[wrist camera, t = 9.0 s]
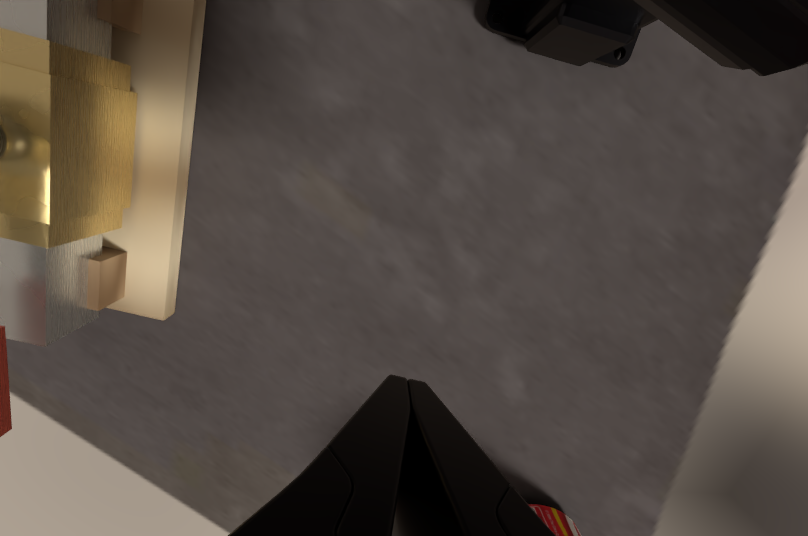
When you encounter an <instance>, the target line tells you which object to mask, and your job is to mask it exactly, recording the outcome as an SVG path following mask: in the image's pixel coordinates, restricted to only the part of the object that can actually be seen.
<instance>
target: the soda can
mask: <svg viewBox="0 0 808 536" xmlns="http://www.w3.org/2000/svg"><path fill="white" fill-rule="evenodd" d="M528 505H529V506H530V507H531V508H532V509H533V511H534V512H535V513H536V514H537V515H538V516H539V517H540V519H541V520H542V521H543V522H544V523H545V524H546V525H547V526H548V527H549V528H550V530H551V531H552V532H553V533H554V534H555V535H556V536H582V535H581V533H580V532H579V530H578V528H577V527H576V525H575V524H574V522H573V521H572V520H571V519H570V518H569V517H568V516H567V515H565V514H564V513H562V512H561V511H559V510H557V509H554V508H552V507H548V506H544V505H537V504H528Z"/></svg>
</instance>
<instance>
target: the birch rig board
mask: <svg viewBox="0 0 808 536" xmlns="http://www.w3.org/2000/svg"><path fill="white" fill-rule="evenodd" d="M205 8H206V0H98V6H97V18H98V19H101V20H103V21H105V22H108V23H110V24H112V36H111V58H110V60H114V61H117V62H120V63H124V64H127V65H130V66H131V79H130V91H131V92H135V93H138V95H137V111H136V127H135V142H134V158H133V174H132V190H131V206H130V208H125V209H123V216H122V228H120V229H116V230H113V231H109V232H105V233H103V237H102V255H99V256H96V257H93V258H90V259H89V262H88V290H87V309H91V310H96V311H99V310H101V309H103V308H105V307H106V308H110V309H115V310H119V311H124V312H128V313H132V314H137V315H141V316H146V317H150V318H155V319H159V320H163V321H164V320H165V319H167V318H168V317H169V316H171V315H172V314H174V313H175V303H176V293H177V283H178V273H179V263H180V254H181V244H182V234H183V224H184V214H185V205H186V195H187V185H188V175H189V165H190V156H191V146H192V136H193V126H194V116H195V106H196V97H197V87H198V77H199V67H200V57H201V48H202V38H203V28H204V18H205Z"/></svg>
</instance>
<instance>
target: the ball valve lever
mask: <svg viewBox="0 0 808 536" xmlns="http://www.w3.org/2000/svg"><path fill="white" fill-rule="evenodd" d="M10 410H11V409H10V394H9V379H8V364H7V349H6V333H5V326H1V325H0V437H1V436H2V435H4V434H5V433H6V432H8V431H9V430H11V429H12V426H11V411H10Z"/></svg>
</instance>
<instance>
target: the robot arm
mask: <svg viewBox="0 0 808 536" xmlns="http://www.w3.org/2000/svg"><path fill="white" fill-rule="evenodd" d="M495 13H498V14H500V15H501V17H502V22H501V23H500V24H496V23H494V22H493V20H492V15H493V14H495ZM658 19H659V20H660V21H662V22H663V23H664V24H666V25H667V26H668V27H670V28H671V29H672V30H674V31H675V32H676V33H678V34H679V35H680V36H682V37H683V38H684V39H686V40H687V41H689V42H690V43H691V44H693V45H694V46H695V47H697V48H698V49H699V50H701V51H702V52H703V53H705V54H706V55H707V56H709V57H710V58H711V59H713V60H714V61H715V62H717V63H718V64H719V65H721V66H724V67H730V68H736V69H742V70H745V69H751V70H753V71H754V72H755V73H756V74H758V75H759V76H766V75H770V74H774V73H777V72H781V71H785V70H789V69H792V68H796V67H799V66H803V65H807V64H808V0H489V4H488V8H487V11H486V15H485V26H486V28H487V29H488V30H489V31H491V32H492V33H496V34H499V35H502V36H506V37H509V38H513V39H516V40H519V41H523V42H525V47H526V49H527V51H529V52H532V53H535V54H539V55H542V56H546V57H549V58H553V59H556V60H559V61H563V62H566V63H570V64H573V65H577V66H582V65H584V64H586V63H588V62H590V61H591V62H594V63H598V64H601V65H605V66H608V67H614V68H615V67H618V66H621V65H623V64H625V63H626V62H627V61H628V60H629V58H630V56H631V54H632V51H633V49H634V46H635V43H636V41H637V38H638V35H639V33H640V30H641V28H642V27H644V26H646V25H648V24H650V23H652V22H654V21H656V20H658ZM616 49H618V50H620V52H621V57H620V59H619V60H617V59H616V58H615V57H614V51H615V50H616ZM228 536H556V535H555V534H554V533H553V532H552V531H551V530H550V528H549V527H548V526H547V525H546V524H545V523H544V522H543V521H542V520H541V519H540V517H539V516H538V515H537V514H536V513H535V512H534V511H533V509H532V508H531V507H530V506H529V505H528V504H527V503H526V501H525V500H524V499H523V498H522V497H521V495H520V494H519V493H518V492H517V491H516V490H515V488H514V487H513V486H510V483H509V481H508V480H507V479H506V478H505V477H504V475H503V474H502V473H501V472H500V471H499V469H498V468H497V467H496V466H495V465H494V463H493V462H492V461H491V460H490V459H489V457H488V456H487V455H486V454H485V453H484V452H483V450H482V449H481V448H480V447H479V446H478V444H477V443H476V442H475V441H474V440H473V438H472V437H471V436H470V435H469V434H468V432H467V431H466V430H465V429H464V428H463V426H462V425H461V424H460V423H459V422H458V420H457V419H456V418H455V417H454V416H453V415H452V413H451V412H450V411H449V410H448V409H447V407H446V406H445V405H444V404H443V403H442V401H441V400H440V399H439V398H438V397H437V395H436V394H435V393H434V392H433V391H432V389H431V388H430V387H429V386H428V385H427V384H426V383H425V382H422V381H417V380H413V379H409V380H408V381H407V379H406V378H404V377H400V376H395V375H389V376H388V377H387V378H386V379H385V380H384V381H383V382H382V384H381V385H380V386H379V387H378V388H377V389H376V390H375V391H374V393H373V394H372V395H371V396H370V397H369V398H368V399H367V401H366V402H365V403H364V404H363V405H362V406H361V407H360V408H359V410H358V411H357V412H356V413H355V414H354V415H353V416H352V418H351V419H350V420H349V421H348V422H347V423H346V424H345V425H344V427H343V428H342V429H341V430H340V431H339V432H338V433H337V435H336V436H335V437H334V438H333V439H332V440H331V441H330V442H329V444H328V445H327V446H326V448H324V449H323V450H322V451H321V452H320V454H319V455H318V456H317V457H316V458H315V459H314V460H313V461H312V462H311V463H310V464H309V465H308V466H307V467H306V469H305V470H304V471H303V472H302V473H301V474H300V475H299V476H298V477H297V478H295V479H294V480H293V481H292V482H291V483H290V484H289V485H288V486H286V487H285V488H284V489H283V490H282V491H281V492H280V493H279V494H277V495H276V496H275V497H274V498H272V499H271V500H270V501H269V502H268V503H266V504H265V505H264V506H263V507H262V508H260V509H259V510H258V511H257V512H256V513H254V514H253V515H252V516H251V517H250V518H248V519H247V520H246V521H245V522H244V523H242V524H241V525H240V526H239V527H238V528H236V529H235V530H234V531H233V532H232V533H230V534H229V535H228Z"/></svg>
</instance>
